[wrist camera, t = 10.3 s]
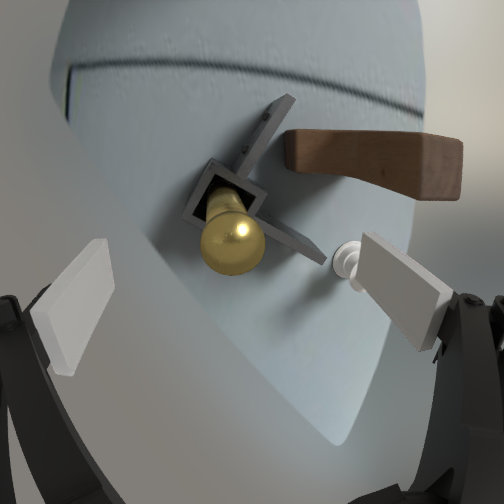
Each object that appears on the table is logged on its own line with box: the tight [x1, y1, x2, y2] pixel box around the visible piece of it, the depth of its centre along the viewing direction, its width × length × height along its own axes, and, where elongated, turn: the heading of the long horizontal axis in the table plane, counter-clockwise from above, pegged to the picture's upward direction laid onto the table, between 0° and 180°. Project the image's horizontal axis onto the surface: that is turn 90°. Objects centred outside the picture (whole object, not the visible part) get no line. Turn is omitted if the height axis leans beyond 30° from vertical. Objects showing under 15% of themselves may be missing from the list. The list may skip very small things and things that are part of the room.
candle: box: [333, 241, 367, 292], centre depth 33 cm, size 5×5×12 cm
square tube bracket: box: [181, 94, 327, 265], centre depth 30 cm, size 15×15×6 cm
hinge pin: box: [200, 180, 265, 276], centre depth 25 cm, size 4×4×17 cm
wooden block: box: [284, 129, 463, 201], centre depth 24 cm, size 9×4×18 cm, turn 92°
